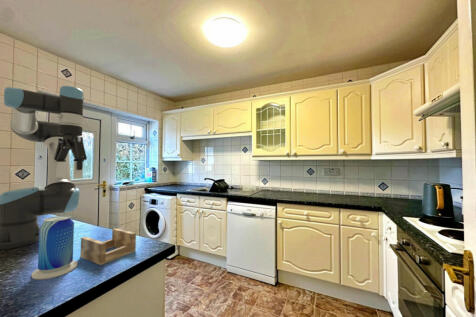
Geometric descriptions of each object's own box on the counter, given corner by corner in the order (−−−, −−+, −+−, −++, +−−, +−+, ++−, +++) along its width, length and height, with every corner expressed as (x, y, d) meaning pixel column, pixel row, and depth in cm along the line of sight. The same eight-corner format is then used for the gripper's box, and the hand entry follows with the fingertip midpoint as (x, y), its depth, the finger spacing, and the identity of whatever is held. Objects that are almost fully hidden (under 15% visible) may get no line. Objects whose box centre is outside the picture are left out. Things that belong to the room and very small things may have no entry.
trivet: (25, 273, 63) (25, 271, 63) (67, 259, 72) (67, 257, 72) (40, 283, 58) (40, 281, 58) (84, 266, 67) (84, 264, 67)
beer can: (51, 276, 60) (53, 222, 61) (30, 273, 62) (32, 220, 62) (79, 263, 68) (80, 215, 69) (59, 260, 70) (61, 214, 71)
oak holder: (80, 257, 74) (81, 237, 74) (115, 244, 86) (115, 228, 86) (100, 265, 68) (101, 244, 68) (135, 250, 80) (135, 233, 80)
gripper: (44, 126, 84) (42, 177, 83) (76, 120, 72) (74, 179, 72) (66, 129, 91) (65, 176, 90) (98, 124, 79) (96, 178, 78)
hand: (69, 178), depth 81 cm, fingers open, 13 cm apart
